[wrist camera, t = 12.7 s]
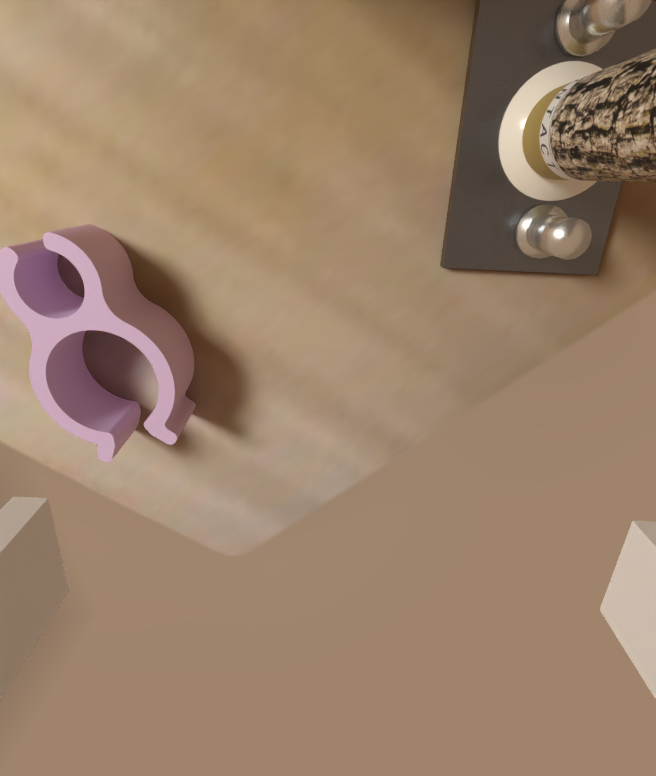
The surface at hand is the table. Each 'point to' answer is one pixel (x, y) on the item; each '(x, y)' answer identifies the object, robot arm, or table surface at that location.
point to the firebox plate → (481, 132)
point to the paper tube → (597, 126)
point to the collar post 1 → (551, 233)
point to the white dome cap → (514, 126)
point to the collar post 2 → (593, 23)
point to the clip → (94, 312)
